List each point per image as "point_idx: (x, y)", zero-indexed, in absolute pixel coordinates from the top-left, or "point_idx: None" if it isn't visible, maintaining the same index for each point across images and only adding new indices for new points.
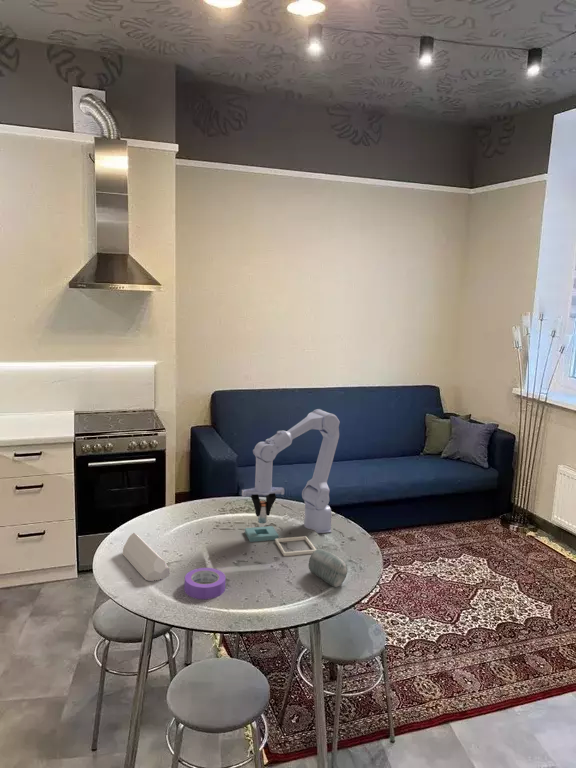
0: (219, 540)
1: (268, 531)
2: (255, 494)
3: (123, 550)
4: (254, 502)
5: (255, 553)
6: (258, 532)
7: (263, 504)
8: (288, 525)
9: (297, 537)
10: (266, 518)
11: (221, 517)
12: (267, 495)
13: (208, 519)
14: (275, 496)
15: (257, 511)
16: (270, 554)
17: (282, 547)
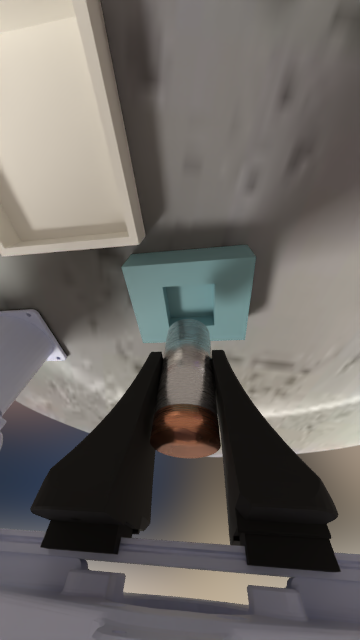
0: (337, 303)
1: (162, 306)
2: (281, 569)
3: None
4: (295, 455)
5: (247, 155)
6: (197, 318)
7: (185, 423)
8: (101, 362)
9: (37, 246)
10: (166, 342)
11: (261, 409)
12: (137, 518)
13: (296, 406)
14: (39, 514)
15: (229, 373)
16: (174, 130)
17: (98, 108)
